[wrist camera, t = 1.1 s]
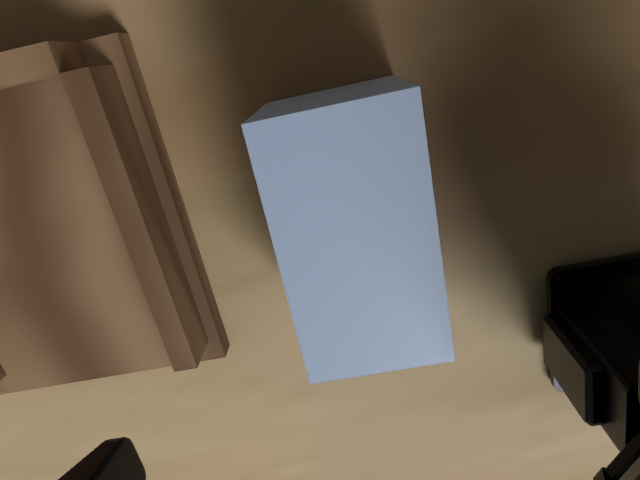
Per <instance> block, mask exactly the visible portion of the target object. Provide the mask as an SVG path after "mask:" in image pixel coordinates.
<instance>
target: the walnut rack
mask: <svg viewBox="0 0 640 480" xmlns="http://www.w3.org/2000/svg"><path fill="white" fill-rule="evenodd" d="M229 345H230V344H229V341H228V338H227V335H226V332H225V329H224V326H223V323H222V320H221V317H220V314H219V310H218V307H217V304H216V301H215V298H214V295H213V292H212V289H211V286H210V283H209V280H208V277H207V274H206V271H205V268H204V265H203V261H202V258H201V255H200V252H199V249H198V246H197V243H196V240H195V237H194V234H193V231H192V228H191V225H190V222H189V219H188V216H187V212H186V209H185V206H184V203H183V200H182V197H181V194H180V191H179V188H178V185H177V182H176V179H175V176H174V173H173V170H172V166H171V163H170V160H169V157H168V154H167V151H166V148H165V145H164V142H163V139H162V136H161V133H160V130H159V127H158V124H157V121H156V117H155V114H154V111H153V108H152V105H151V102H150V99H149V96H148V93H147V90H146V87H145V84H144V81H143V78H142V75H141V72H140V68H139V65H138V62H137V59H136V56H135V53H134V50H133V47H132V44H131V41H130V38H129V35H128V33H118V32H117V33H112V34H108V35H104V36H100V37H96V38H91V39H87V40H83V41H79V42H67V41H45V42H40V43H36V44H32V45H28V46H24V47H20V48H15V49H11V50H7V51H3V52H0V394H6V393H12V392H18V391H24V390H30V389H36V388H42V387H48V386H54V385H60V384H66V383H72V382H78V381H84V380H90V379H96V378H102V377H108V376H114V375H120V374H126V373H133V372H139V371H145V370H151V369H157V368H163V367H169V366H172V367H173V370H174V372H176V371H182V370H188V369H194V368H197V367H198V365H199V363H200V361H205V360H211V359H217V358H223V357H226V354H227V351H228V348H229Z"/></svg>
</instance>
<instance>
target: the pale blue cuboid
mask: <svg viewBox="0 0 640 480" xmlns="http://www.w3.org/2000/svg"><path fill="white" fill-rule="evenodd" d="M241 127H242V130H243V134H244V138H245V142H246V146H247V149H248V153H249V157H250V161H251V164H252V168H253V172H254V176H255V179H256V183H257V187H258V191H259V194H260V198H261V202H262V206H263V210H264V213H265V217H266V221H267V225H268V228H269V232H270V236H271V240H272V243H273V247H274V251H275V255H276V258H277V262H278V266H279V270H280V274H281V277H282V281H283V285H284V289H285V292H286V296H287V300H288V304H289V307H290V311H291V315H292V319H293V322H294V326H295V330H296V334H297V338H298V341H299V345H300V349H301V353H302V356H303V360H304V364H305V368H306V371H307V375H308V379H309V383H310V384H313V383H320V382H326V381H332V380H339V379H345V378H351V377H357V376H364V375H370V374H376V373H383V372H389V371H395V370H402V369H408V368H414V367H421V366H427V365H433V364H440V363H446V362H452V361H455V355H454V347H453V339H452V332H451V324H450V316H449V308H448V300H447V293H446V285H445V277H444V269H443V261H442V254H441V246H440V238H439V230H438V223H437V215H436V207H435V199H434V191H433V184H432V176H431V168H430V160H429V152H428V145H427V137H426V129H425V121H424V113H423V106H422V98H421V90H420V86H419V85H416V84H414V83H411V82H409V81H407V80H404V79H402V78H400V77H397V76H395V75H391V76H387V77H382V78H378V79H373V80H368V81H364V82H359V83H355V84H350V85H345V86H341V87H336V88H332V89H327V90H322V91H318V92H313V93H309V94H304V95H300V96H295V97H290V98H286V99H281V100H277V101H272V102H267V103H266V104H265V105H264V106H262V107H261V108H260V109H259V110H258V111H256V112H255V113H254V114H253V115H252V116H251V117H249V118H248V119H247V120H246V121H245V122H243V123H242V124H241Z"/></svg>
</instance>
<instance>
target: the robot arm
mask: <svg viewBox="0 0 640 480" xmlns="http://www.w3.org/2000/svg"><path fill="white" fill-rule="evenodd" d="M560 276H564V278H563V280H562V281H560V282H556V280H557V278H558V277H560ZM546 284H547V308H548V313H546V314H545V316H544V317H543V319H542V323H543V344H544V362H545V364H546V366H547V367H548V369H549V370H550V380H551V383H552V385H553V386H554V388H555V389H556V390H557V391H559V392H565V394H566V395H567V397H568V398H569V400H570V401H571V403H572V404H573V406H574V407H575V409H576V410H577V412H578V413H579V415H580V416H581V417H582V419H583V420H584V422H586V423H587V424H589V425H590V426H596V425H601V426H602V428H603V429H604V431H605V432H606V433H607V435H608V436H609V438H610V439H611V440H612V442H613V443H614V445H615V446H616V447H617V449H618V450H619V452H620V453H619V454H618V455H617V456H616V457H615V458H614V460H613V461H612V462H611V463H610V464H609V465H608V466H607V468H604V467H603V468H601V469H600V470H599V472H598V473H597V474H596V475H595V476H594V477H593V480H640V253H635V254H629V255H624V256H618V257H612V258H606V259H600V260H595V261H589V262H583V263H577V264H571V265H566V266H560V267H556V268H553V269H552V270H550V271H549V273H548V274H547V278H546ZM58 480H146V473H145V469H144V466H143V464H142V462H141V460H140V458H139V456H138V454H137V451H136V449H135V447H134V445H133V443H132V441H131V440H130V439H129V438H126V437H122V438H115V439H109V440H106V441H104V442H103V443H101V444H100V445H99V446H98V447H97V448H95V449H94V450H93V451H92V452H91V453H89V454H88V455H87V456H86V457H85V458H83V459H82V460H81V461H80V462H79V463H77V464H76V465H75V466H74V467H73V468H71V469H70V470H69V471H68V472H67V473H65V474H64V475H63V476H62V477H61V478H59V479H58Z"/></svg>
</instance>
